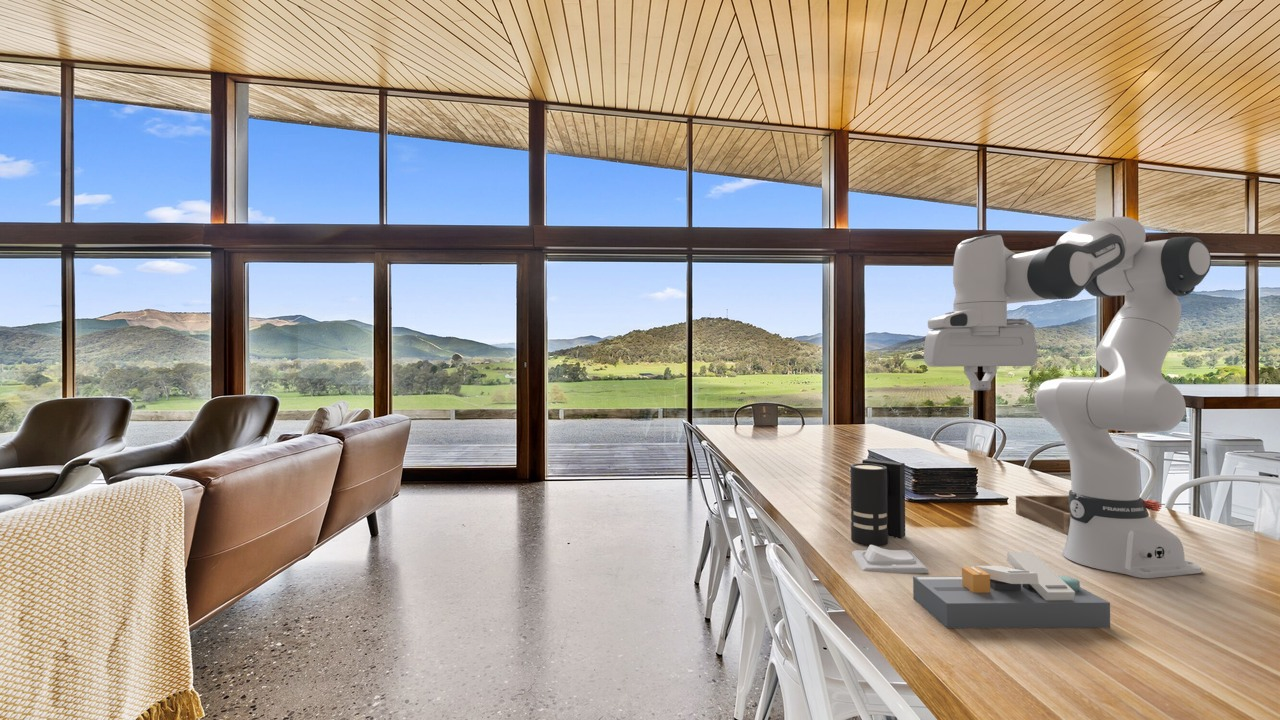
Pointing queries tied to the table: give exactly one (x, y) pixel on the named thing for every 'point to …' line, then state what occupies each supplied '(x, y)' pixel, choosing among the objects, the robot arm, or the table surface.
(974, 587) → the slider knob
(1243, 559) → the table surface
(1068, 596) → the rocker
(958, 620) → the panel
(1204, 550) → the table surface
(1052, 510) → the frame
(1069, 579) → the button
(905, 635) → the table surface
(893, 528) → the light fixture
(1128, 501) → the robot arm
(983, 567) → the panel
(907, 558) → the light switch
